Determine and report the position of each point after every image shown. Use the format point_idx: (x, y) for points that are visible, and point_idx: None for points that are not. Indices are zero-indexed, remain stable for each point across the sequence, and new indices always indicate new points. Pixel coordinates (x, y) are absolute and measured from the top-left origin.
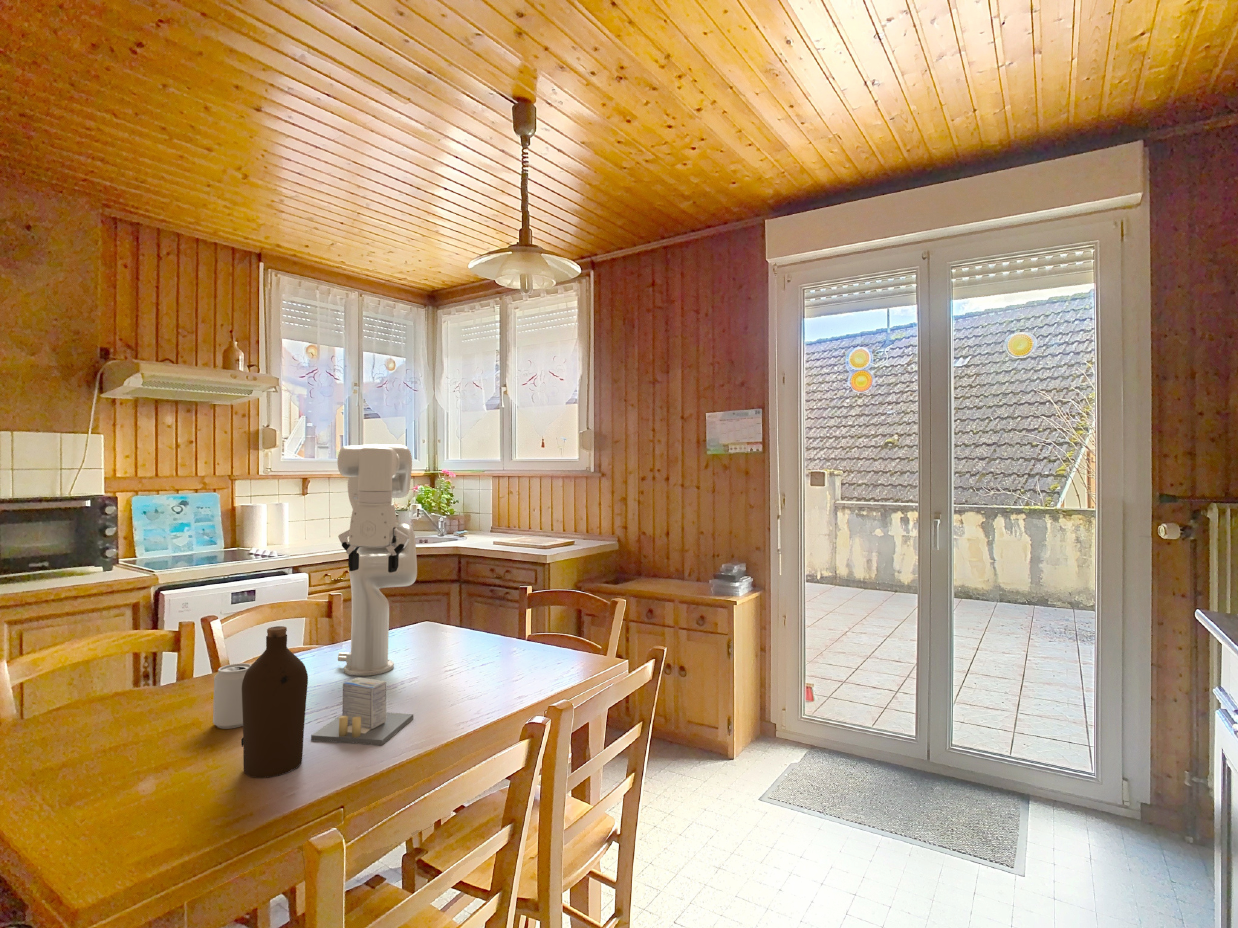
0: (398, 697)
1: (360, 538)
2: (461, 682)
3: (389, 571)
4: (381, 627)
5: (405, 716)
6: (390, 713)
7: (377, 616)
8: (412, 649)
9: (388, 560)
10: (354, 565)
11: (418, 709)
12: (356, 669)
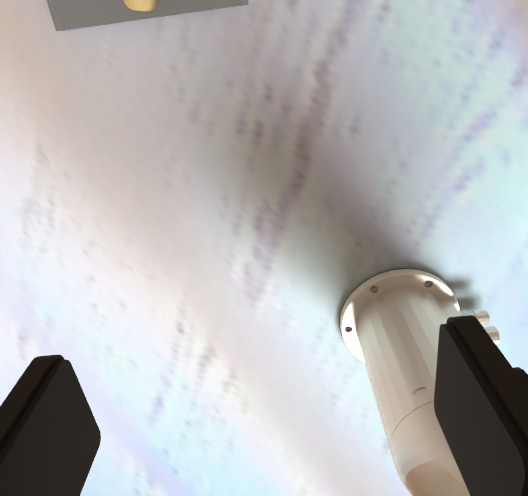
0: (203, 163)
1: None
2: (128, 295)
3: (46, 357)
4: (384, 389)
5: (62, 5)
6: (117, 15)
7: (403, 409)
8: (373, 448)
9: (6, 452)
10: (456, 385)
11: (97, 99)
12: (412, 287)
